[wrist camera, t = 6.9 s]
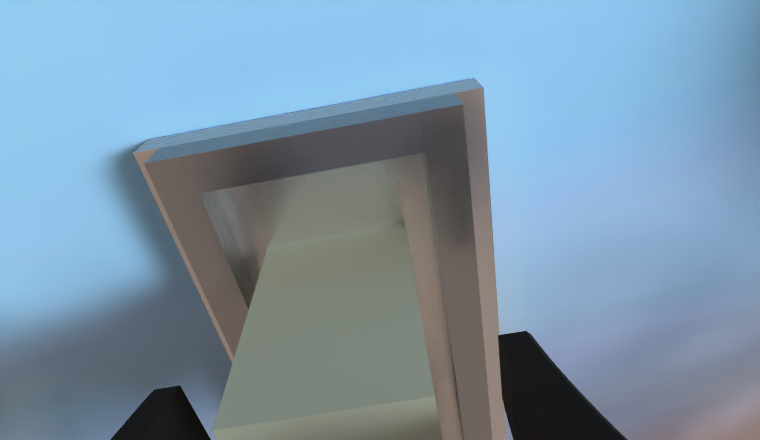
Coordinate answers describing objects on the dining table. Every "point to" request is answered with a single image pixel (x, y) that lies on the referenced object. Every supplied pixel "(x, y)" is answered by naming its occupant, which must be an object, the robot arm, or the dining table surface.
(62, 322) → the dining table surface
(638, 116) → the dining table surface
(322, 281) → the pale green cuboid
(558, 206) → the dining table surface
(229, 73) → the dining table surface
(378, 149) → the tray
